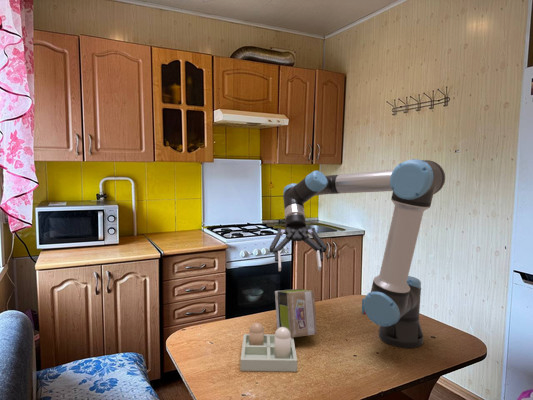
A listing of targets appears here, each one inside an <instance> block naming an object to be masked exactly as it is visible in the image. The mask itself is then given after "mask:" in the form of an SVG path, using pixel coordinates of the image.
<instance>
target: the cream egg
mask: <svg viewBox="0 0 533 400" xmlns="http://www.w3.org/2000/svg"><path fill="white" fill-rule="evenodd" d="M274 334H275V349H274V359H290V349H291V334H290V331H289V330H288V329H287V328H285V327H280V328H278V329H277V328H276V330H275V332H274Z"/></svg>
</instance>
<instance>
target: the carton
mask: <svg viewBox="0 0 533 400" xmlns="http://www.w3.org/2000/svg"><path fill="white" fill-rule="evenodd" d="M248 330H249V333H243V338H242V346H241V353H240V372H289V373H291V372H293V373H295V372H298V358H297V352H296V346H295V340H294V338H295V337H293V338H292V337H291V349H290V359H274V349H275V333H273V334H272V333H271V334H268V333H265V329H264V325H262V323H259V322H254V323H252V324H251V325H250V327H249V329H248Z"/></svg>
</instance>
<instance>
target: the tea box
mask: <svg viewBox="0 0 533 400" xmlns="http://www.w3.org/2000/svg"><path fill="white" fill-rule="evenodd" d="M274 296H275V298H274V301H275V316H276V317H275V318H276V330H277V329H278V328H280V327H285V328H287V329H288V330H289V331H290V334H291V337H292V338H298V337H299V338H300V337H305V336H313V335H318V328H317V327H318V324H317V313H316V301H315V299H316V298H315V291H314V290H313V289H311V290H310V289H305V288H296V289H295V288H294V289H293V288H292V289H284V290H275V291H274Z"/></svg>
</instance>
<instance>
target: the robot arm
mask: <svg viewBox="0 0 533 400" xmlns="http://www.w3.org/2000/svg"><path fill="white" fill-rule="evenodd" d="M445 183H446V173H445V171H444V169H443V167H442V166H441V165H440V164H439V163H437V162H435V161H433V160H428V159H419V158H418V159H415V158H414V159H413V158H411V159H409V160H405V161H403V162H401V163H399V164H397V165H396V166H395V167H394V169H389V170H388V169H386V170H375V171H374V170H373V171H365V172H363V171H362V172H354V173H351V172H350V173H343V174H330V175H329V174H327V175H325V174H324V173H323V172H321V171H319V170H314V171H312V172H311V173H308V174H307V175H306V176H305V177H304V178H303V179H302V180H300V181H299V182H297V183H290V184H287V185H286V186H284V187H283V194H282V195H283V196H282V198H283V207H284V222H285V229H282V228H281V227H279V228H277V233H276V235H275V237H274V239H273V240H272V242H271V244H270V246H269V250H268V252H269V253H270V254H274V262H275V263H276V262H277V264H278V272H281V271H282V258H281V251H282V250H283V249H284V248H285V247H286V245H287V244H289V243H290V242H291V241H292V242H302V241H303V242H304V243H306V244H307V245H308V246H309V247H310V248H311V249H313V250H314V251H315V256H316V257H315V258H316V264H317V271H318V272H320V271H321V270H322V262H323V259H324V254H323V253H327V249H328V247H327V245H326V244H325V242H324V240H322V239H321V237H320V236H319V234H318V233H317V230H316V227H312V228H311V229H308V228H307V222H306V214H305V206H304V205H305V203H306V202H308V201H309V200H311V199H312V198H313V197H315V196H324V195H337V194H355V193H360V194H361V193H379V192H380V193H381V192H383V193H385V192H392V193H391V199H390V200H391V202H392V203H393V204H394V207H393V208H394V209H393V212H392V217H391V222H390V225H389V230H388V235H387V240H386V245H385V248H384V254H383V259H382V262H381V267H380V271H379V274H378V275H377V276H375V277H373V279H372V280H373V281H372V284H371V288H370V289H371V290H370V292H368V293H367V295H365V297H364V298H363V299H364V302H363V307H364V311H365V313H366V314H365V315H366V316H367V317H368V319H369V320H370V322H372V323H373V324H375V325H377V326H379V328H378V337H379V339H380V340H381V341H383V342H384V343H386V344H388V345H390V346H394V347H396V348H397V347H398V348H403V349H415V348H420V347H421V346H422V345H423V344H424V333H423V330H422V327H421V323H420V322H421V321H420V311H421V309H420V308H421V296H422V295H421V294H422V282H421V280H420V279H419V278H418V277H415V276H410V275H409V274H410V270H411V266H412V265H411V264H412V261H413V257H414V252H415V249H416V246H417V241H418V238H419V237H418V236H419V233H420V228H421V224H422V220H423V215H424V212H425V211H426V210H428V209H430V208H431V205H432V202H433V197H434V195H436V194H437V193H439V192H440V191H441V190H442V189H443V187H444V185H445ZM284 234H285V237H284V238H283V239H282V240H281V242H280V243H279V244H278V242H279V241H280V239H281V237H282V236H283V235H284ZM309 235H310V236H311V237H312V238H311V237H310V236H309Z"/></svg>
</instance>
